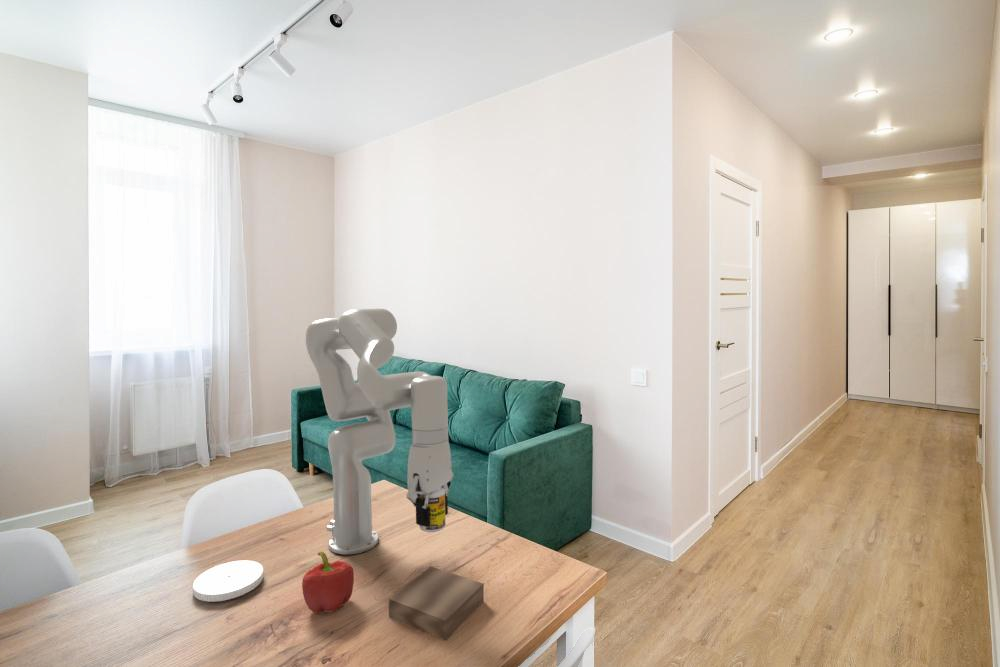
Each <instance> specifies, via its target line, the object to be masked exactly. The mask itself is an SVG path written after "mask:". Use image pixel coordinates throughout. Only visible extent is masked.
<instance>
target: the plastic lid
mask: <svg viewBox="0 0 1000 667" xmlns="http://www.w3.org/2000/svg"><path fill="white" fill-rule="evenodd" d="M263 579H264V567H263V565H262V564H261V563H260V562H257V561H254V560H244V559H243V560H242V559H241V560H235V561H233V560H232V561H229V562H226V563H225V562H224V563H220V564H218V565H214V567H211V568H208V569H206V570H205V571H204V572H202V573H201V574H199V575H197V577H196V578H195V579H194V581H193V583H192V595H193V597H194V598H196V599H197V600H199V601H203V602H209V603H210V602H213V603H214V602H215V603H216V602H224V601H226V600H227V601H229V600H232V599H235V598H239V597H240V596H241V597H242V596H243V595H245V594H247V593H249V592H251V591H252V590H254V589H256V588H257V587H258V586H259V585H260V584H261V583H262V581H263Z"/></svg>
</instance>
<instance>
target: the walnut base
mask: <svg viewBox="0 0 1000 667" xmlns="http://www.w3.org/2000/svg"><path fill="white" fill-rule="evenodd" d="M484 586H485V585H484V583H482V582H480V581H477V580H473V579H471V578H467V577H465V576H461V575H458V574H455V573H453V572H449V571H445V570H443V569H439V568H436V567H434V566H429V567H428V568H426V569H425V570H424V571H423V572H421V573H420V574H419V575H417V576H416V577H415V578H414V579H412V580H410V582H408V583H407V584H406V585H405V586H404V587H402V588H401V589H399V590H398V591H397V592H396V593H394V594H392V595H391V596H390V597H389V598H388V617H389V618H390V619H391V620H393V621H397V622H399V623H402V624H404V625H406V626H409V627H411V628H413V629H416V630H418V631H421V632H424V633H426V634H428V635H430V636H433V637H436V638H438V639H441V640H442V641H447V640H448V639H449V637H451V636H452V635H453V634H454V633H455V631H457V629H458V628H459V627H461V626H462V625H463V623H464V622H465V621H466V620H467V619H468V618H470V616H471V615H472V614H473V613H474V612H475V611H476V610H477V609H478V608H479V607H480V606H481V604H483V603H484V598H485V596H484V594H485V592H484V590H485V589H484V588H485V587H484Z"/></svg>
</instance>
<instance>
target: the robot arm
mask: <svg viewBox="0 0 1000 667" xmlns="http://www.w3.org/2000/svg"><path fill="white" fill-rule="evenodd" d="M397 331H398V324H397V320H396V317H395V316H394V314H393V313H392V312H391V311H390V310H388V309H385V308H355V309H350V310H347V311H345V312H343V313H342V315H340V317H329V318H322V319H317V320H315V321H312V322H311V323H310V324H309V325H308V326H307V329H306V332H305V346H306V350H307V353H308V356H309V358H310V360H311V362H312V364H313V366H314V367H315V370H316V373H317V374H318V379H319V384H320V389H321V393H322V398H323V402H324V405H325V411H326V413H327V415H328V418H329V419H330V420H331V421H334V422H344V421H352V420H357V419H361V418H366V419H367V421H364V422H356V423H352V424H347V425H343V426H340V427H337V428H336V429H334V430H333V431H332V432H331V433H330V434H329V435H328V438H327V448H328V453H329V457H330V462H331V470H332V488H333V489H332V490H333V519H331V520H330V522H329V524H328V525H327V526H326V527H325V528H326V529H325V530H327V532H331V537H330V538H329V540H328V548H329V550H330V551H331V552H332V553H335V554H336V555H337V554H339V555H344V556H345V555H347V556H348V555H357V554H361V553H365V552H367V551H369V550H370V549H371V550H372V549H373V548H374V547H375V546H376V545H377V544H378V542H379V534H378V532H376V531H375V530H373V516H372V513H373V511H372V510H373V508H372V476H371V474H370V471H369V470H368V468H367V467H365V465H364V463H362V462H363V461H364V460H367V459H370V458H375V457H379V456H383V455H385V454H388V453H391V451H392V450H393V449H394V448H395V445H396V431H395V427H394V423H393V418H392V416H391V415H392V414H391V411H394V410H399V409H405V408H410V410H411V443H412V444H410V445H409V446H410V447H409V453H408V461H407V475H406V476H407V480H406V481H407V490H408V491H407V493H406V496H405V497H406V499H408V500H409V501H410V503H412V504H413V507H414V508H415V524H416V525H418V526H419V525H421V526H425V527H428V526H430V507H427V506H428V501H429V495H430V493H431V492H433V491H434V490H436V489H438V488H440V486H441V487H442V488H444V490H445V516H446V515H448V513H449V511H448V510H449V508H448V507H449V505H448V496H449V495H450V490H449V488H450V487H451V483H452V481H453V478H454V476H455V475H454V471H452V470H453V469H452V455H451V447H450V443H449V442H450V441H449V418H448V417H449V414H448V412H449V411H448V409H449V408H448V383H447V380H446V378H444V377H442V376H439V375H431V374H430V373H427V372H425V371H419V370H418V371H417V370H416V371H411V372H410V371H409V372H401V373H399V372H398V373H392V374H385V375H383V374H381V373H380V372H379V369H381V368H382V367H384V366H385V365H386V364H387V363H388V362H389V361H390V359H392V357H393V355H394V351H395V344H394V342H393V340H392V339H394V337H395V335H396V334H397ZM337 350H352V351H353V352H354V354H356V356H357V358H358V359H359V361H358V363H357V368H356V374H357V376H356V377H357V382H356V381H355V378H354V376H353V375H354V374H353V372H352V371H353V370H352V367H351V365H350V364H349V363H348V362H347V360H346V359H345V358H344V357H343V356H342V355H340V354H339V353H338V352H337ZM421 489H422V491H421ZM421 495H424V498H423V500H422V499H421V498H420V496H421Z"/></svg>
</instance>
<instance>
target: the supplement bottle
mask: <svg viewBox="0 0 1000 667" xmlns="http://www.w3.org/2000/svg"><path fill="white" fill-rule="evenodd" d="M421 491H422V489H421ZM420 498H421V499H422V500H423V498H424V495H421V496H420ZM427 507H430V526H428V527H425V526H421V525H418V526H419V529H420V530H421V531H423V532H425V533H435V532H436V533H437V532H440V531H441V530H443V529H444V528H446V515H445V490H444V488H442V487H441V486H440V488H438V489H436V490H434V491H433V492H431V493H430V495H429V501H428V506H427Z"/></svg>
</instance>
